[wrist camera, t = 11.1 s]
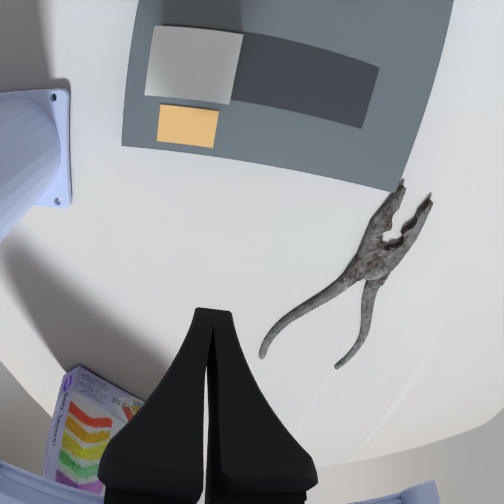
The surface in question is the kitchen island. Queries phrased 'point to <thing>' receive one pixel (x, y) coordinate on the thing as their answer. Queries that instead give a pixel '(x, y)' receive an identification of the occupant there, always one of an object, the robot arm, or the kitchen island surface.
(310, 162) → the panel
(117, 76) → the kitchen island surface
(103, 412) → the cake pan box
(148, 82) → the tab
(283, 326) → the pliers
